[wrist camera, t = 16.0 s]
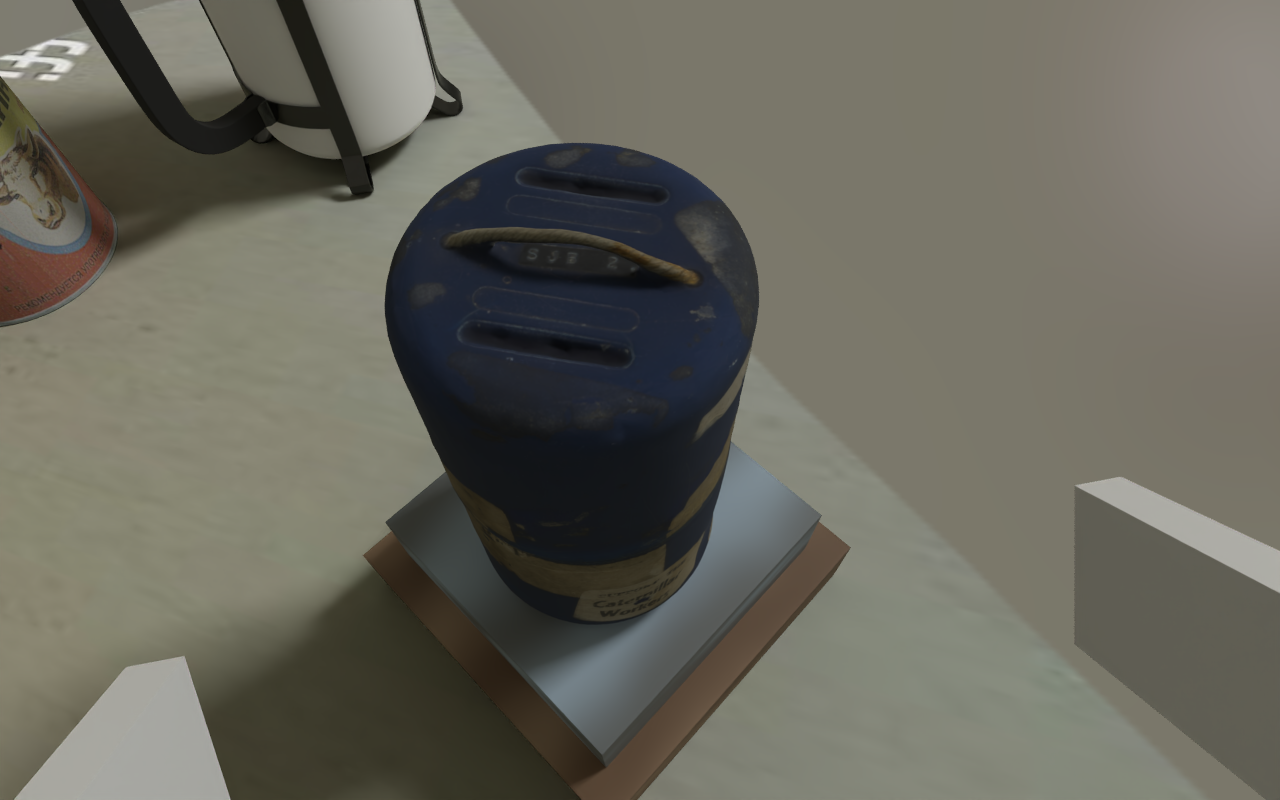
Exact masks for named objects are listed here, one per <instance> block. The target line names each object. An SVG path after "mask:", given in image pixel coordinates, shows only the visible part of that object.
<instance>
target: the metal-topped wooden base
mask: <svg viewBox="0 0 1280 800" xmlns="http://www.w3.org/2000/svg"><path fill="white" fill-rule="evenodd" d="M821 516H822V515H821V514H819V513H818V512H817V511H816V510H814V509H813V508H812V507H811V506H810V505H808V504H807V503H806V502H805V501H803V500H802V499H801V498H800V497H798V496H797V495H796V494H795V493H794V492H792V491H791V490H790V489H789V488H787V487H786V486H785V485H784V484H783V483H781V482H780V481H779V480H778V479H776V478H775V477H774V476H773V475H771V474H770V473H769V472H768V471H767V470H765V469H764V468H763V467H762V466H760V465H759V464H758V463H757V462H756V461H754V460H753V459H752V458H751V457H749V456H748V455H747V454H746V453H744V452H743V451H742V450H741V449H740V448H738V447H737V446H736V445H735V444H733V443H732V442H731V444H730V451H729V457H728V461H727V465H726V470H725V474H724V478H723V482H722V485H721V489H720V493H719V496H718V500H717V503H716V506H715V509H714V512H713V523H712V530H711V534H710V538H709V541H708V544H707V547H706V550H705V552H704V554H703V557H702V559H701V561H700V563H699V565H698V567H697V568H696V570H695V571H694V573H693V574H692V576H691V577H690V578H689V579H688V581H687V582H686V583H685V584H684V585H683V587H682V588H681V589H680V590H679V591H678V592H677V593H675V594H674V595H673V596H672V597H671V598H669V599H668V600H667V601H666V602H664V603H663V604H661V605H660V606H658V607H657V608H655V609H653V610H651V611H649V612H647V613H645V614H643V615H641V616H638V617H636V618H633V619H630V620H626V621H622V622H618V623H612V624H601V625H586V624H577V623H572V622H567V621H563V620H559V619H557V618H554V617H551V616H548V615H546V614H544V613H542V612H540V611H538V610H536V609H535V608H533V607H531V606H529V605H528V604H527V603H525V602H524V601H523V600H521V599H520V598H519V597H518V596H517V595H515V594H514V593H513V592H512V591H511V590H510V589H509V588H508V586H507V585H506V584H505V583H504V582H503V580H502V579H501V578H500V576H499V575H498V573H497V572H496V570H495V569H494V567H493V565H492V563H491V561H490V559H489V557H488V555H487V553H486V551H485V549H484V547H483V544H482V542H481V540H480V538H479V536H478V534H477V532H476V531H475V529H474V527H473V524H472V522H471V519H470V517H469V515H468V513H467V511H466V508H465V506H464V504H463V503H462V501H461V500H460V498H459V497H458V495H457V493H456V492H455V490H454V488H453V486H452V484H451V482H450V480H449V477H448V475H447V473H446V472H445V473H444V474H442V475H441V476H440V477H439V478H438V479H436V480H435V481H434V482H433V483H432V484H430V485H429V486H428V487H427V488H426V489H424V490H423V491H422V492H421V493H420V494H418V495H417V496H416V497H415V498H414V499H412V500H411V501H410V502H409V503H408V504H406V505H405V506H404V507H403V508H402V509H400V510H399V511H398V512H397V513H396V514H394V515H393V516H392V517H391V518H390V519H388V520H387V521H386V524H387V525H388V527H389V528H390V529H391V532H390V533H389V534H388V535H387V536H385V537H384V538H383V539H382V540H381V541H379V542H378V543H377V544H376V545H375V546H373V547H372V548H371V549H370V550H369V551H368V552H366V553H365V554H364V555H363V556H364V557H365V558H366V560H367V561H368V562H369V563H370V564H371V565H372V567H373V568H374V569H375V570H376V571H377V572H378V574H379V575H380V576H381V577H382V578H383V579H384V580H385V582H386V583H387V584H388V585H389V586H390V587H391V588H392V589H393V591H394V592H395V593H396V594H397V595H398V596H399V597H400V598H401V600H402V601H403V602H404V603H405V604H406V605H407V606H408V607H409V608H410V610H411V611H412V612H413V613H414V614H415V615H416V616H417V617H418V618H419V620H420V621H421V622H422V623H423V624H424V625H425V626H426V627H427V629H428V630H429V631H430V632H431V633H432V634H433V635H434V636H435V637H436V639H437V640H438V641H439V642H440V643H441V644H442V645H443V646H444V647H445V649H446V650H447V651H448V652H449V653H450V654H451V655H452V656H453V658H454V659H455V660H456V661H457V662H458V663H459V664H460V665H461V666H462V668H463V669H464V670H465V671H466V672H467V673H468V674H469V675H470V676H471V678H472V679H473V680H474V681H475V682H476V683H477V684H478V685H479V687H480V688H481V689H482V690H483V691H484V692H485V693H486V694H487V695H488V697H489V698H490V699H491V700H492V701H493V702H494V703H495V704H496V706H497V707H498V708H499V709H500V710H501V711H502V712H503V713H504V714H505V716H506V717H507V718H508V719H509V720H510V721H511V722H512V723H513V724H514V726H515V727H516V728H517V729H518V730H519V731H520V732H521V733H522V735H523V736H524V737H525V738H526V739H527V740H528V741H529V742H530V743H531V745H532V746H533V747H534V748H535V749H536V750H537V751H538V752H539V753H540V755H541V756H542V757H543V758H544V759H545V760H546V761H547V762H548V764H549V765H550V766H551V767H552V768H553V769H554V770H555V771H556V772H557V774H558V775H559V776H560V777H561V778H562V779H563V780H564V781H565V782H566V784H567V785H568V786H569V787H570V788H571V789H572V790H573V791H574V793H575V794H576V795H577V796H578V797H579V798H580V799H581V800H637V799H638V798H639V797H640V796H641V795H642V794H643V793H644V791H645V790H646V789H647V788H648V787H649V786H650V785H651V783H652V782H653V781H654V780H655V779H656V778H657V777H658V775H659V774H660V773H661V772H662V771H663V770H664V769H665V767H666V766H667V765H668V764H669V763H670V762H671V761H672V759H673V758H674V757H675V756H676V755H677V754H678V752H679V751H680V750H681V749H682V748H683V747H684V746H685V744H686V743H687V742H688V741H689V740H690V739H691V738H692V736H693V735H694V734H695V733H696V732H697V731H698V730H699V728H700V727H701V726H702V725H703V724H704V723H705V722H706V720H707V719H708V718H709V717H710V716H711V715H712V714H713V712H714V711H715V710H716V709H717V708H718V707H719V706H720V704H721V703H722V702H723V701H724V700H725V699H726V697H727V696H728V695H729V694H730V693H731V692H732V691H733V689H734V688H735V687H736V686H737V685H738V684H739V683H740V681H741V680H742V679H743V678H744V677H745V676H746V675H747V673H748V672H749V671H750V670H751V669H752V668H753V667H754V665H755V664H756V663H757V662H758V661H759V660H760V659H761V657H762V656H763V655H764V654H765V653H766V652H767V651H768V649H769V648H770V647H771V646H772V645H773V644H774V642H775V641H776V640H777V639H778V638H779V637H780V636H781V634H782V633H783V632H784V631H785V630H786V629H787V628H788V626H789V625H790V624H791V623H792V622H793V621H794V620H795V618H796V617H797V616H798V615H799V614H800V613H801V612H802V610H803V609H804V608H805V607H806V606H807V605H808V604H809V602H810V601H811V600H812V599H813V598H814V597H815V596H816V594H817V593H818V592H819V591H820V590H821V589H822V587H823V586H824V585H825V584H826V583H827V582H828V581H829V579H830V578H831V577H832V576H833V575H834V573H835V572H836V570H837V568H838V567H839V565H840V564H841V562H842V561H843V559H844V557H845V556H846V554H847V553H848V551H849V550H850V547H849V546H848V545H847V544H846V543H844V542H843V541H842V540H841V539H839V538H838V537H837V536H836V535H835V534H833V533H832V532H831V531H830V530H829V529H827V528H826V527H825V526H824V525H822V524H821V523H820V522H819V520H820V518H821Z"/></svg>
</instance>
